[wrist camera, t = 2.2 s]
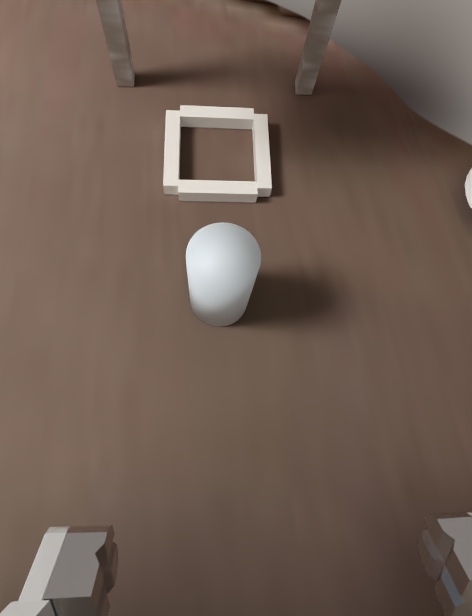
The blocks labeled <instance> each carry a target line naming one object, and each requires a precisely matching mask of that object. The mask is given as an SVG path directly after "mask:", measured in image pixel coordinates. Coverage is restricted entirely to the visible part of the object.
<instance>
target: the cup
mask: <svg viewBox="0 0 472 616" xmlns="http://www.w3.org/2000/svg"><path fill="white" fill-rule="evenodd" d="M465 192H466V197H467V200H468V203H469V206H470V207H471V208H472V168H471V170H470V171H469V173H468V175H467V178H466V182H465Z"/></svg>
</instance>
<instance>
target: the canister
mask: <svg viewBox="0 0 472 616" xmlns="http://www.w3.org/2000/svg"><path fill="white" fill-rule="evenodd" d="M186 264H187V274H188V284H189V294H190V304H191V308H192V310H193V312H194V314H195V315H196V316H197V318H198V319H200V320H201V321H202V322H204V323H206V324H208V325H211V326H215V327H223V326H228V325H231V324H233V323H235V322H236V321H237V320H239V319H240V318H241V317H242V315H243V314H244V312H245V310H246V307H247V304H248V301H249V298H250V295H251V292H252V289H253V286H254V283H255V280H256V277H257V274H258V271H259V267H260V264H261V252H260V248H259V245H258V243H257V241H256V240H255V238H254V237H253V236H252V235H251V234H250V233H249V232H248V231H247V230H245V229H244V228H242V227H240V226H238V225H235V224H231V223H214V224H210V225H207V226H205V227H203V228H202V229H200V230H199V231H197V232H196V233H195V234H194V235H193V237H192V238H191V240H190V241H189V243H188V246H187V250H186Z"/></svg>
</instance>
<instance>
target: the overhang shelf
mask: <svg viewBox="0 0 472 616" xmlns="http://www.w3.org/2000/svg"><path fill="white" fill-rule="evenodd" d="M96 1H97V5H98V9H99V13H100V18H101V22H102V26H103V30H104V34H105V38H106V42H107V46H108V50H109V54H110V58H111V62H112V66H113V71H114V75H115V79H116V83H117V86H124V87H134V82H135V72H134V66H133V61H132V56H131V50H130V45H129V40H128V35H127V29H126V24H125V19H124V13H123V8H122V3H121V0H96ZM340 3H341V0H316V1H315V5H314V10H313V13H312V17H311V21H310V25H309V29H308V32H307V36H306V40H305V44H304V48H303V52H302V56H301V60H300V64H299V67H298V71H297V75H296V79H295V90H296V94H299V95H312V92H313V89H314V85H315V82H316V79H317V76H318V73H319V70H320V66H321V63H322V60H323V57H324V54H325V51H326V47H327V44H328V41H329V38H330V35H331V31H332V28H333V25H334V22H335V19H336V16H337V13H338V9H339V6H340Z"/></svg>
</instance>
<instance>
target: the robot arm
mask: <svg viewBox="0 0 472 616" xmlns="http://www.w3.org/2000/svg"><path fill="white" fill-rule="evenodd" d="M424 523H425V525H426V527H427V528H426V529H425V530H424V531H422V532H421V533H420V535H419V538H418V553H419V557H420V560H421V563H422V565H423V568H424V570H425V572H426V574H428V575H429V576H430V577H431V578H432V579H433V580H434V581H435V582H436V585H435V591H434V592H435V595H436V597H437V599H438V601H439V603H440V606H441V608H442V610H443V612H444V614H445V616H472V512H469V513H466V512H459V513H441V514H430V515H428V516H426V519H425V521H424ZM113 538H114V530H113V526H112V525H106V526H62V527H50V528H49V529H48V530H47V532H46V533H45V535H44V537H43V540H42V542H41V545H40V547H39V550H38V552H37V555H36V557H35V560H34V562H33V565H32V568H31V570H30V573H29V575H28V578H27V580H26V583H25V585H24V588H23V590H22V593H21V595H20V598H19V600H18V601H12V602H11V603H10V604H9V605H8V606H7V607H6V608H5V609H4V610H3V611H2V612H1V613H0V616H108V613H109V608H110V605H109V601H108V596H107V594H108V593H109V591H110V590H111V589H112V588H113V587H114V584H115V579H116V574H117V565H118V549H117V544H116V543H114V542H113Z"/></svg>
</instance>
